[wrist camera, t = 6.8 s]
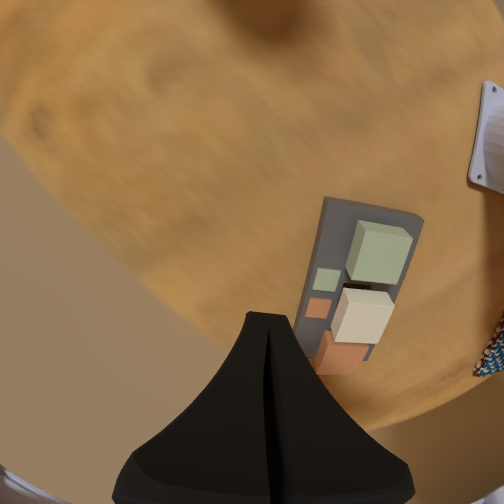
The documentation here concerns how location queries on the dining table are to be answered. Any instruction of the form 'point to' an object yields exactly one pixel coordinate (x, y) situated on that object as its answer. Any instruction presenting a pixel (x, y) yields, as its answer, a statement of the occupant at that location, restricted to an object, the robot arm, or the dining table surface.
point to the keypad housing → (342, 265)
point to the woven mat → (492, 354)
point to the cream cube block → (361, 316)
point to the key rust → (338, 356)
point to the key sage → (378, 252)
